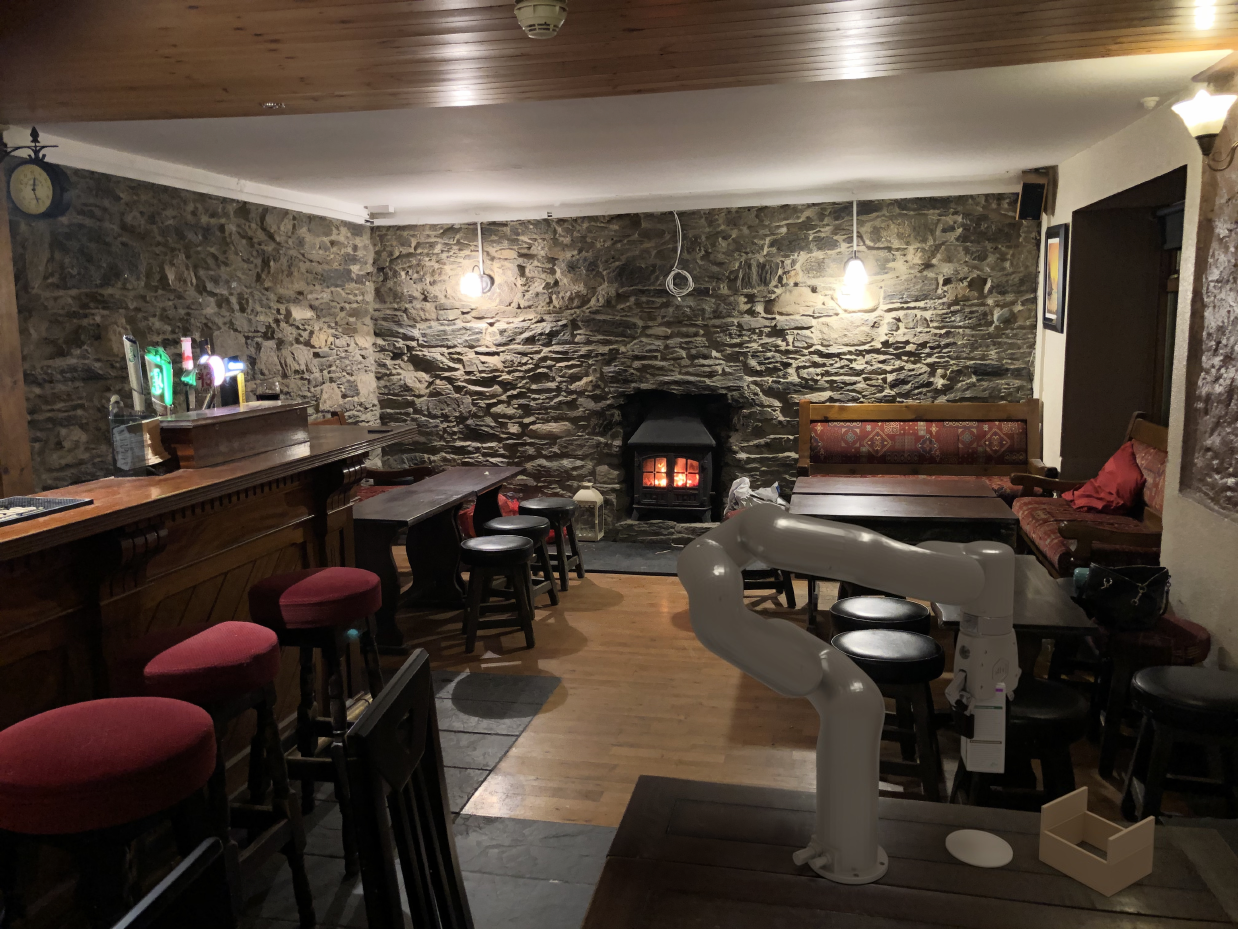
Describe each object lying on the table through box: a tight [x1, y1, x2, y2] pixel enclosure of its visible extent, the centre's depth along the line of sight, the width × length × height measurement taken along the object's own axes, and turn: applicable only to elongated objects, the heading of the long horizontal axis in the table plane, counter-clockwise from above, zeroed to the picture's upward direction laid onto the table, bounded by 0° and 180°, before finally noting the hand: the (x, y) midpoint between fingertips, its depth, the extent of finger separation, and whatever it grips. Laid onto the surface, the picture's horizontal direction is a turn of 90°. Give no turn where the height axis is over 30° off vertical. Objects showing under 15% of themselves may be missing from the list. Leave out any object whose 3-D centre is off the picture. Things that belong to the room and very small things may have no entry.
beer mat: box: [945, 829, 1014, 869], centre depth 142 cm, size 10×10×1 cm
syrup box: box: [960, 682, 1006, 774], centre depth 139 cm, size 6×6×14 cm
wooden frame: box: [1038, 786, 1156, 898], centre depth 136 cm, size 11×11×9 cm
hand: (982, 728), depth 139 cm, fingers closed on syrup box, 8 cm apart
